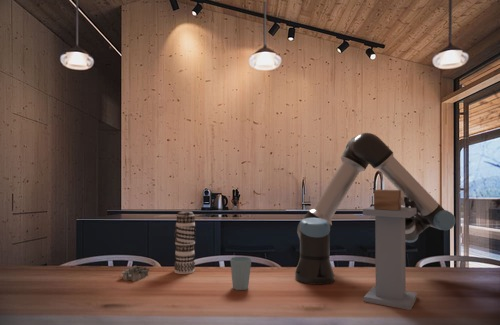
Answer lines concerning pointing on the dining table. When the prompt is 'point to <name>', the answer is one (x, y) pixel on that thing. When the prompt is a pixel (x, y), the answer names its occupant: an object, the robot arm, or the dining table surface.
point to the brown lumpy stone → (135, 273)
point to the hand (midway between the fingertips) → (395, 194)
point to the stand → (390, 258)
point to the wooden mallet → (387, 199)
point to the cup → (240, 272)
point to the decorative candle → (185, 243)
